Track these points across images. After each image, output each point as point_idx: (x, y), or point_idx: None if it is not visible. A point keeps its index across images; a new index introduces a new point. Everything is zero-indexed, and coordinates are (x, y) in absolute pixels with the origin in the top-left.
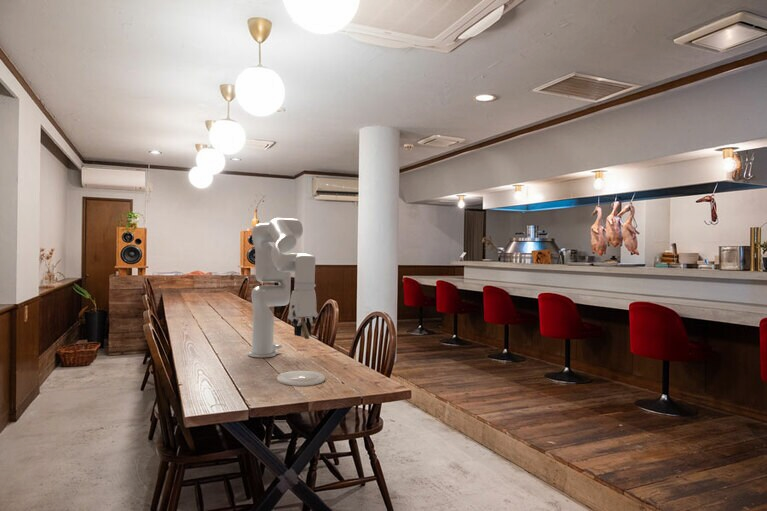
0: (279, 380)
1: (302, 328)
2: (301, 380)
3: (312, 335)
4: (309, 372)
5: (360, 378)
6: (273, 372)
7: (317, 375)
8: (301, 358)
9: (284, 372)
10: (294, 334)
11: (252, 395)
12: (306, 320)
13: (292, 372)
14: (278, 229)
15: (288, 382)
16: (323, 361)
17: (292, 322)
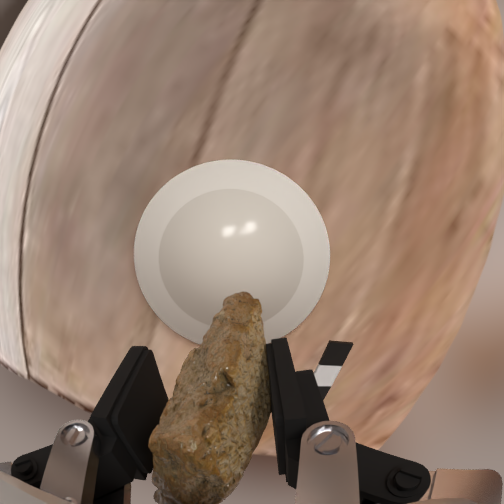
0: (135, 251)
1: (152, 479)
2: (197, 312)
3: (342, 347)
4: (300, 226)
5: (396, 355)
6: (195, 101)
7: (294, 288)
8: (406, 17)
9: (207, 162)
10: (132, 350)
11: (38, 315)
12: (300, 476)
13: (237, 182)
14: None
15: (147, 301)
16: (450, 99)
17: (42, 449)
